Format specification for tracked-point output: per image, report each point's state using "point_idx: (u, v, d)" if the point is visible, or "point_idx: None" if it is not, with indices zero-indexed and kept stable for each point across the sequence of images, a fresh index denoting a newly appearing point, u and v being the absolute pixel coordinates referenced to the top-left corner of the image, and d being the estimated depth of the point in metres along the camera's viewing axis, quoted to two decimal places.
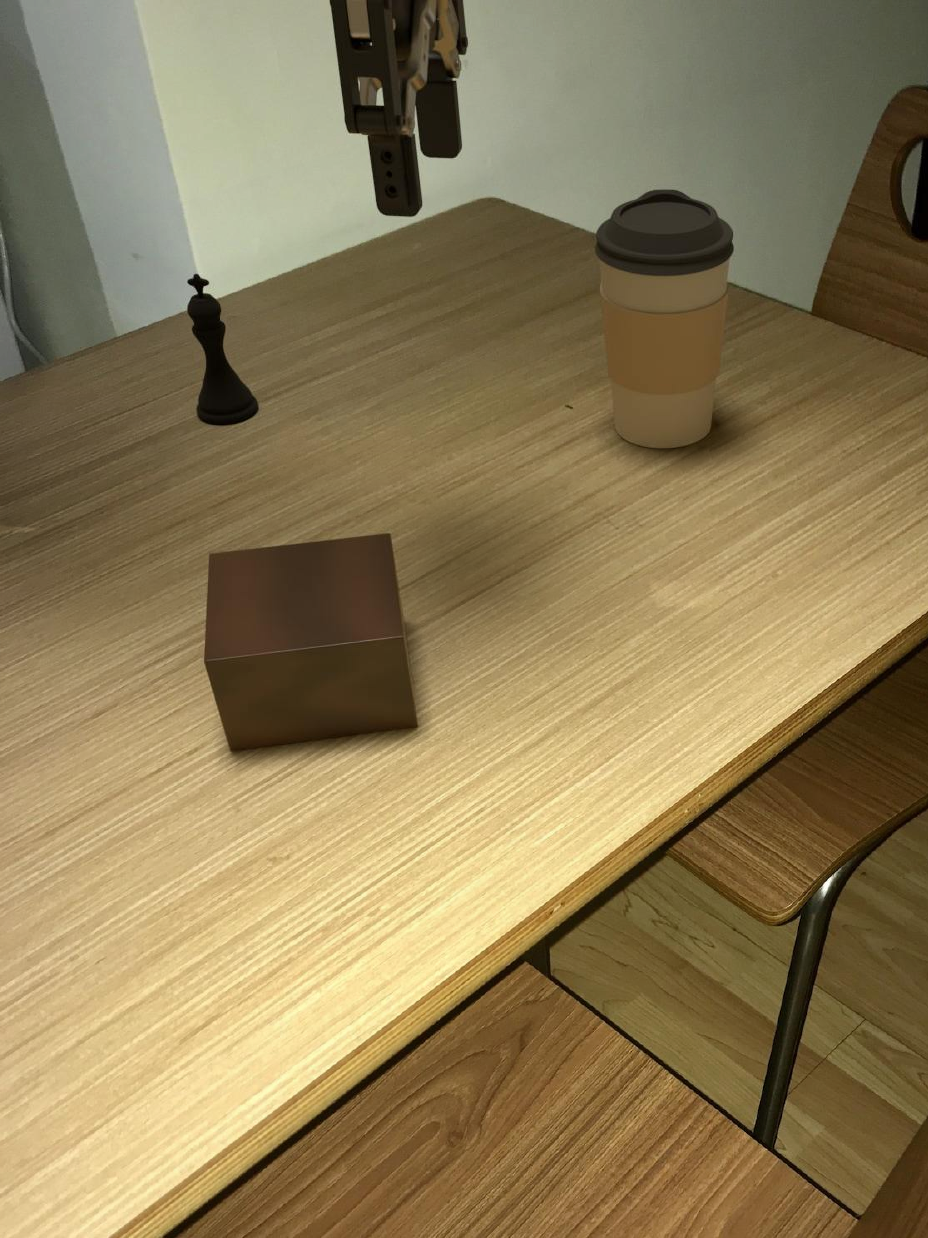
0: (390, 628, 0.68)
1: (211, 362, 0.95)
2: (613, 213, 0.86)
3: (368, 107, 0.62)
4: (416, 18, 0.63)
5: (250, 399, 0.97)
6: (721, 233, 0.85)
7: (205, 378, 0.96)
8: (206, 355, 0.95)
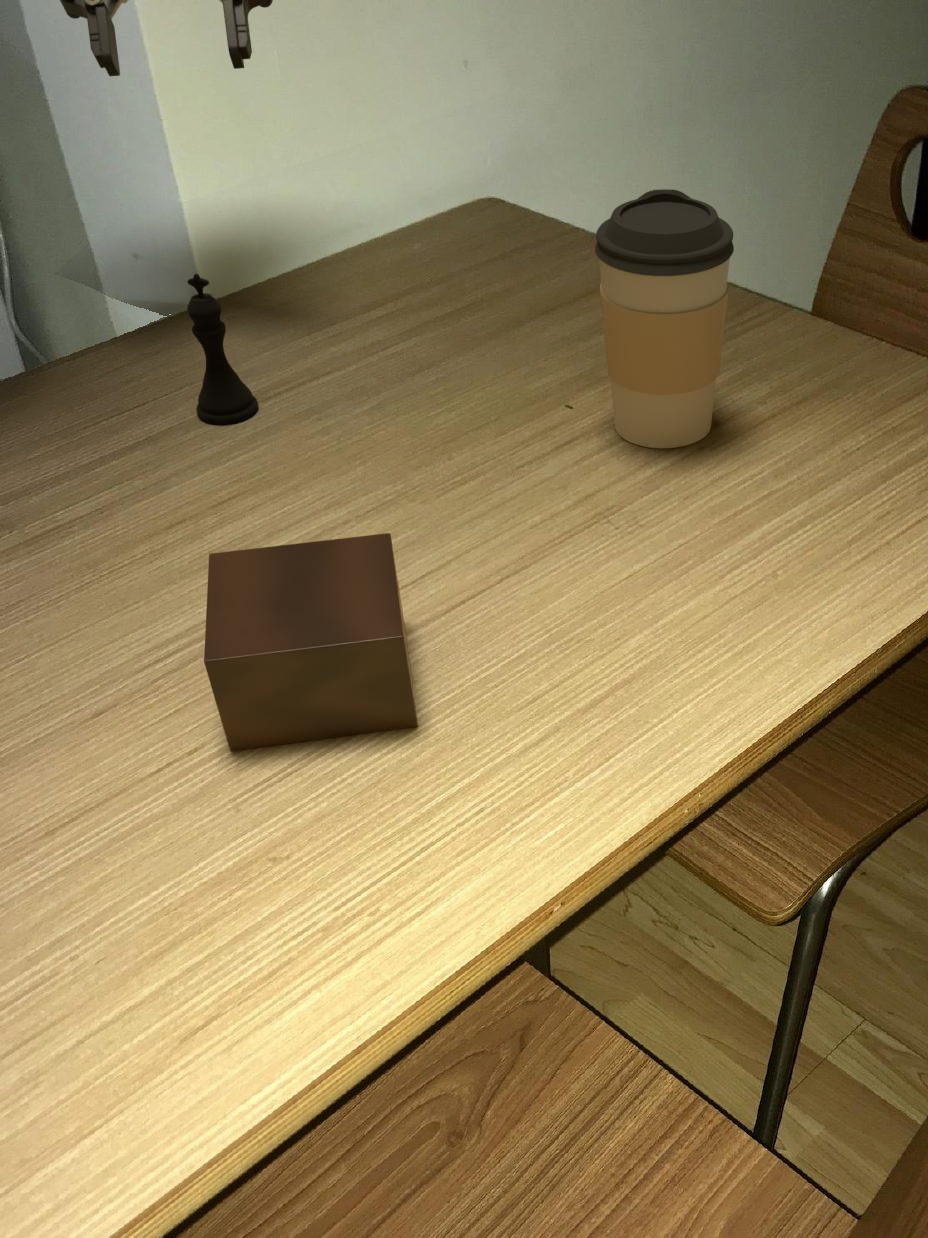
0: (390, 628, 0.68)
1: (211, 362, 0.95)
2: (613, 213, 0.86)
3: None
4: None
5: (250, 399, 0.97)
6: (721, 233, 0.85)
7: (205, 378, 0.96)
8: (206, 355, 0.95)
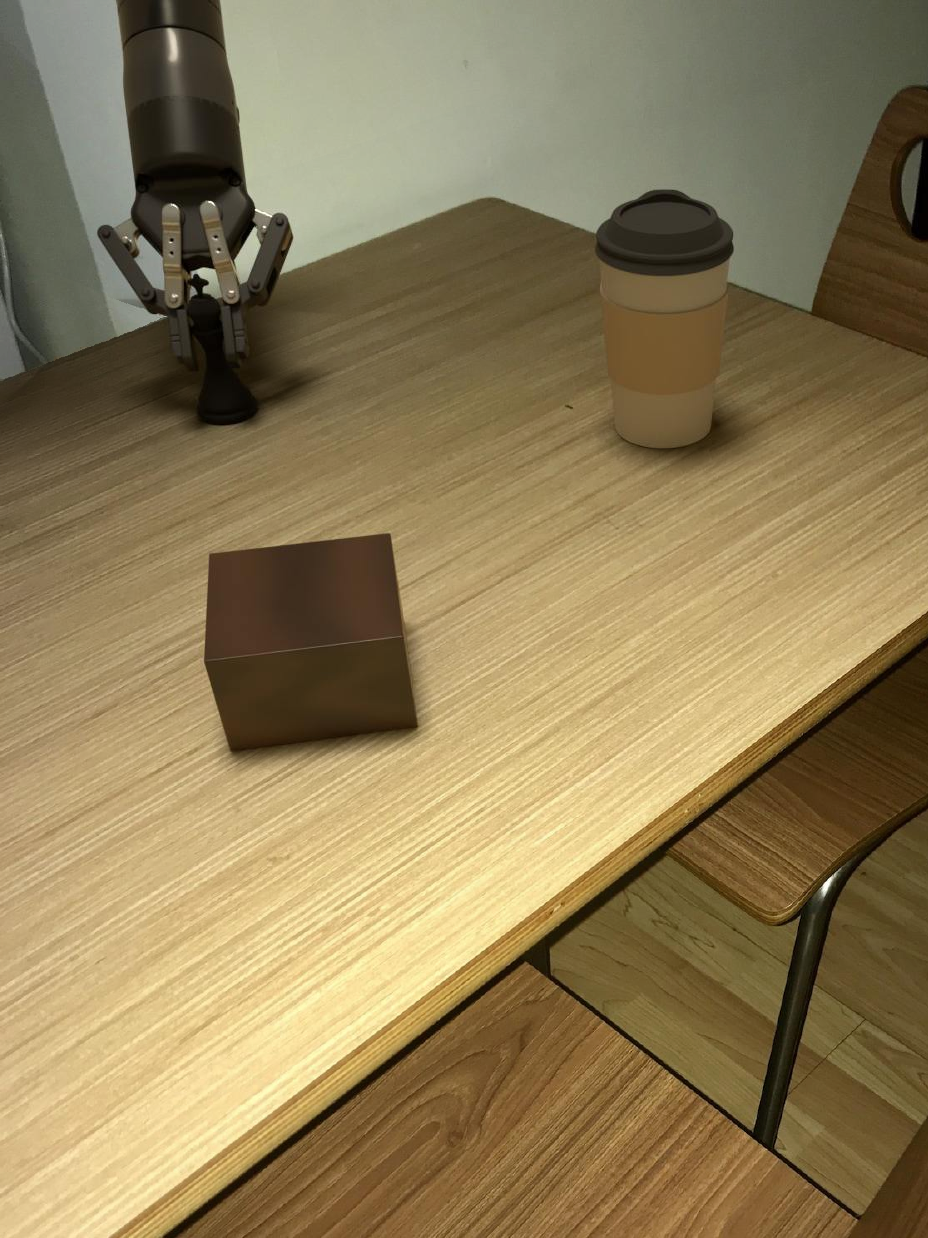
0: (390, 628, 0.68)
1: (210, 362, 0.95)
2: (613, 213, 0.86)
3: None
4: None
5: (250, 399, 0.97)
6: (721, 233, 0.85)
7: (205, 378, 0.96)
8: (206, 355, 0.95)
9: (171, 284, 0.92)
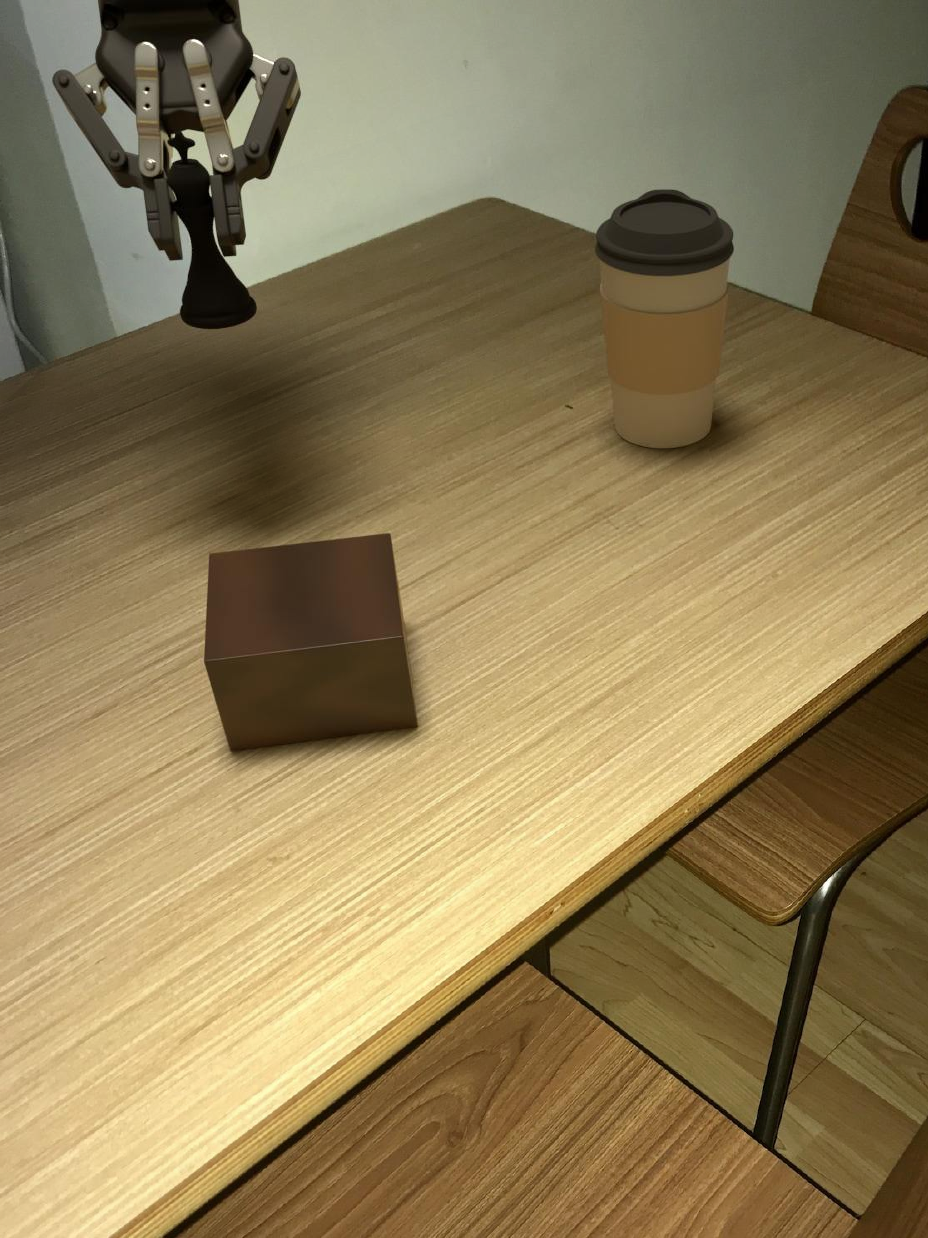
0: (390, 628, 0.68)
1: (197, 249, 0.75)
2: (613, 213, 0.86)
3: None
4: None
5: (247, 299, 0.78)
6: (721, 233, 0.85)
7: (191, 270, 0.76)
8: (192, 240, 0.75)
9: (146, 146, 0.73)
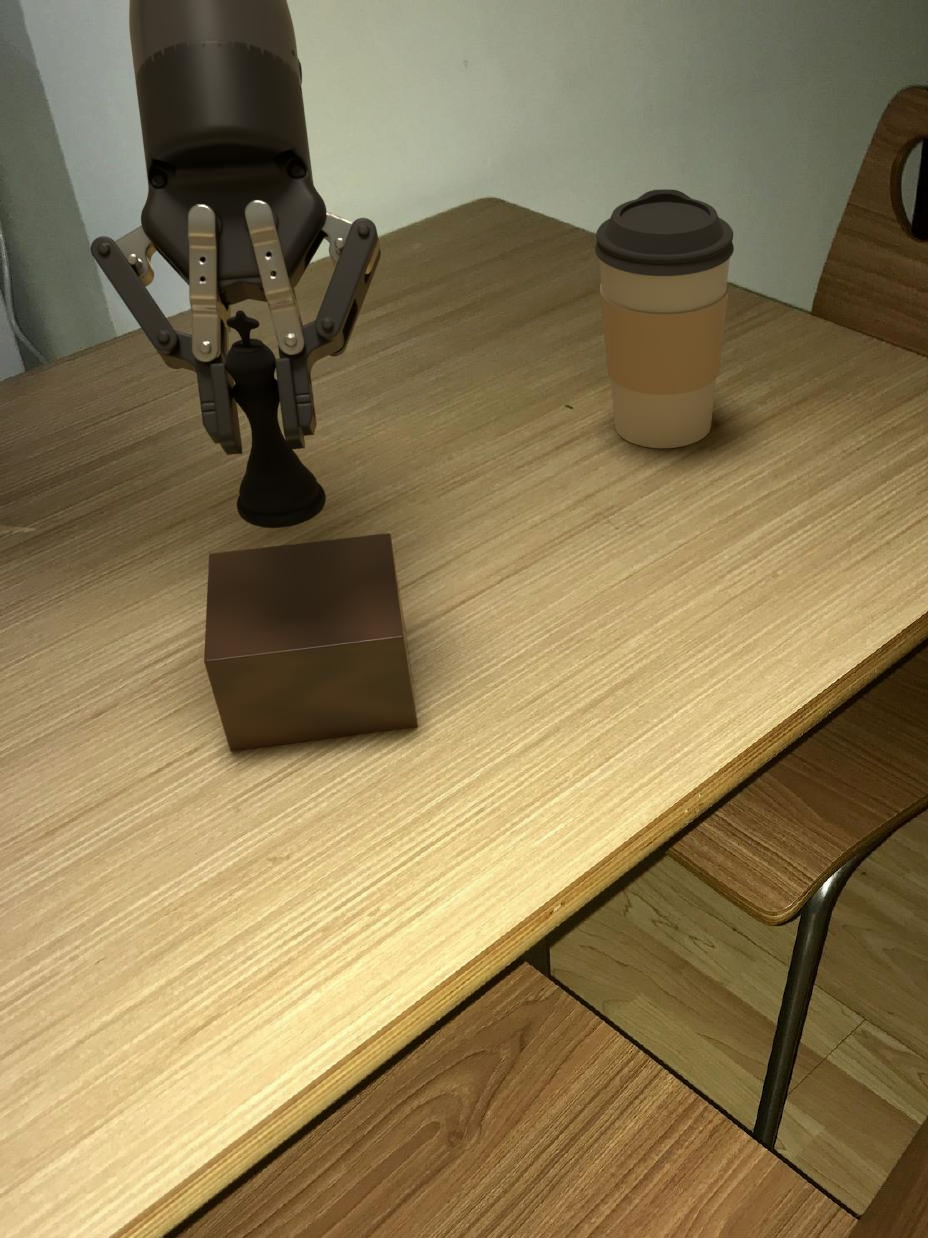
0: (390, 628, 0.68)
1: (259, 439, 0.64)
2: (613, 213, 0.86)
3: None
4: None
5: (315, 490, 0.66)
6: (721, 233, 0.85)
7: (250, 462, 0.65)
8: (253, 429, 0.64)
9: (201, 325, 0.61)
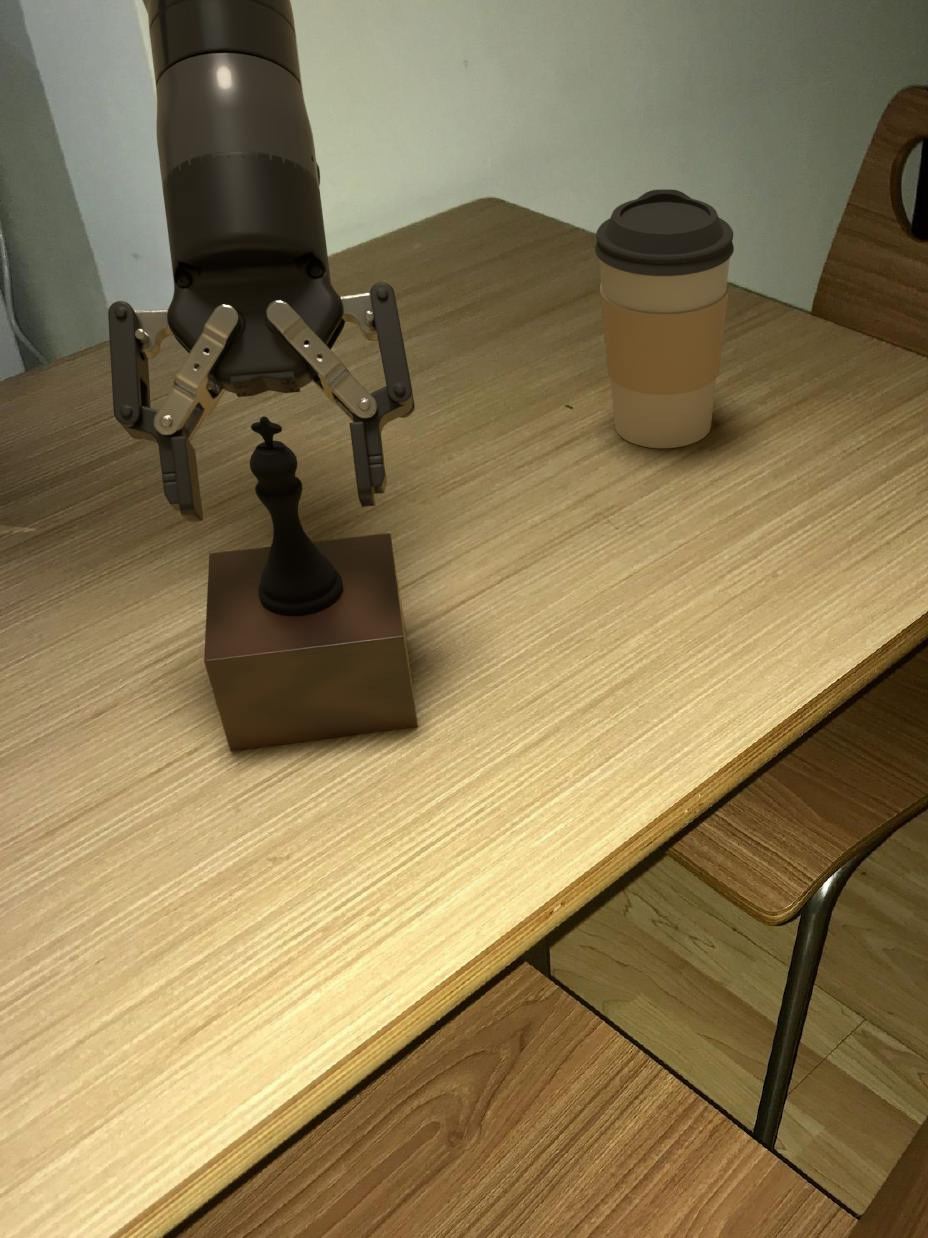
0: (391, 628, 0.68)
1: (281, 533, 0.68)
2: (613, 213, 0.86)
3: None
4: None
5: (333, 578, 0.70)
6: (721, 233, 0.85)
7: (272, 553, 0.69)
8: (274, 523, 0.67)
9: (174, 402, 0.64)
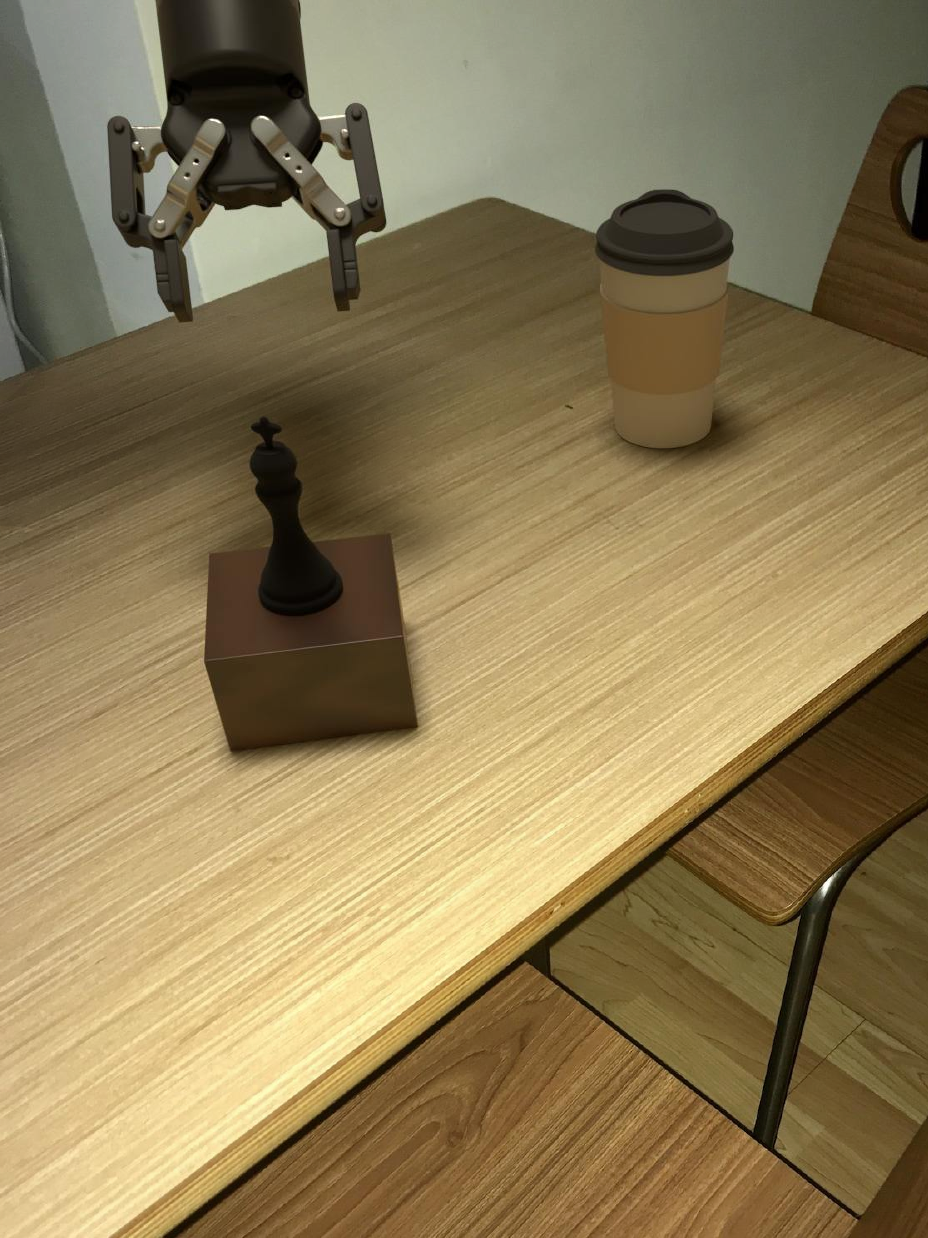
0: (390, 628, 0.68)
1: (280, 533, 0.68)
2: (613, 213, 0.86)
3: None
4: None
5: (333, 578, 0.70)
6: (721, 233, 0.85)
7: (272, 553, 0.69)
8: (274, 523, 0.67)
9: (167, 208, 0.71)
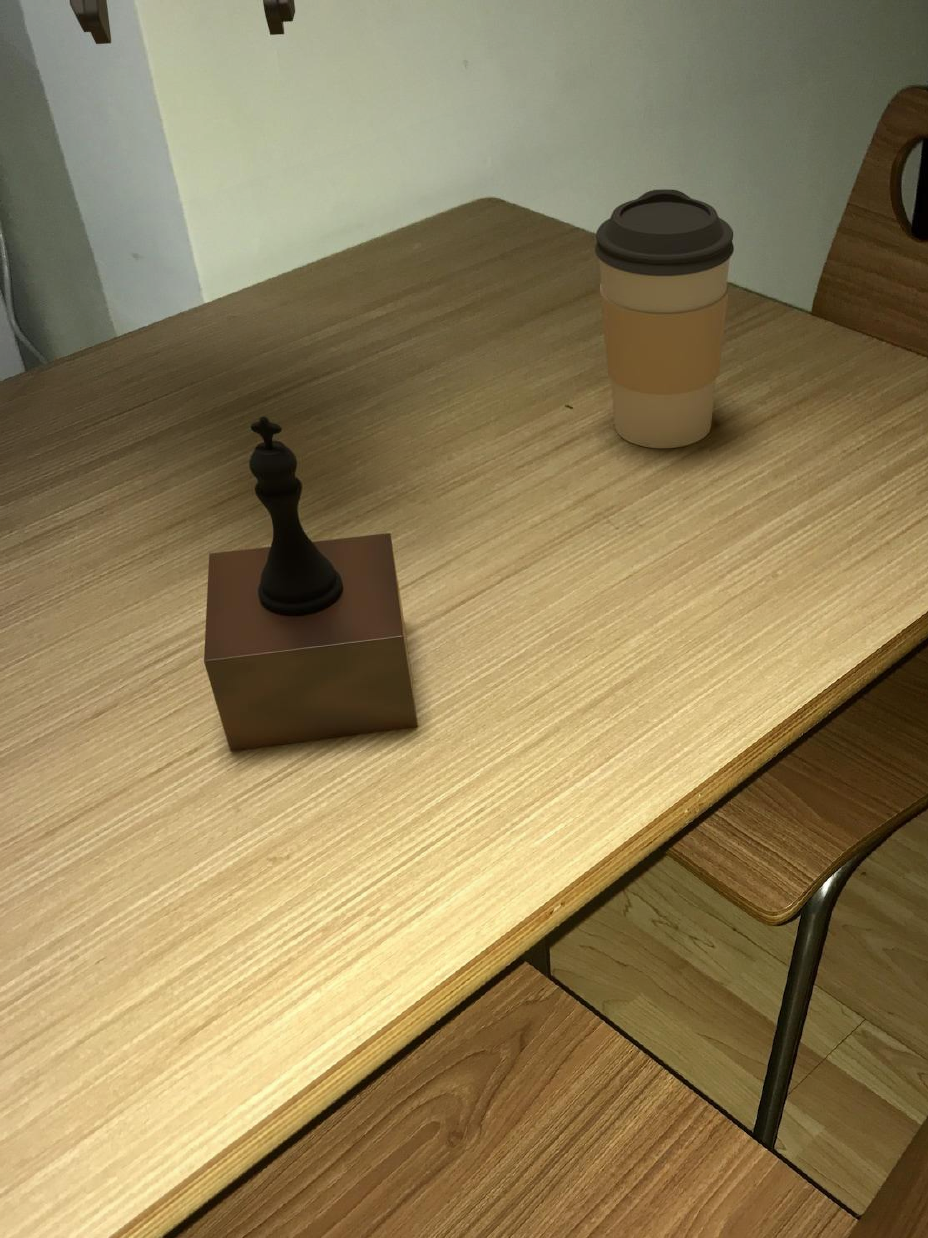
0: (390, 628, 0.68)
1: (280, 533, 0.68)
2: (613, 213, 0.86)
3: None
4: None
5: (333, 578, 0.70)
6: (721, 233, 0.85)
7: (272, 553, 0.69)
8: (274, 523, 0.67)
9: None
